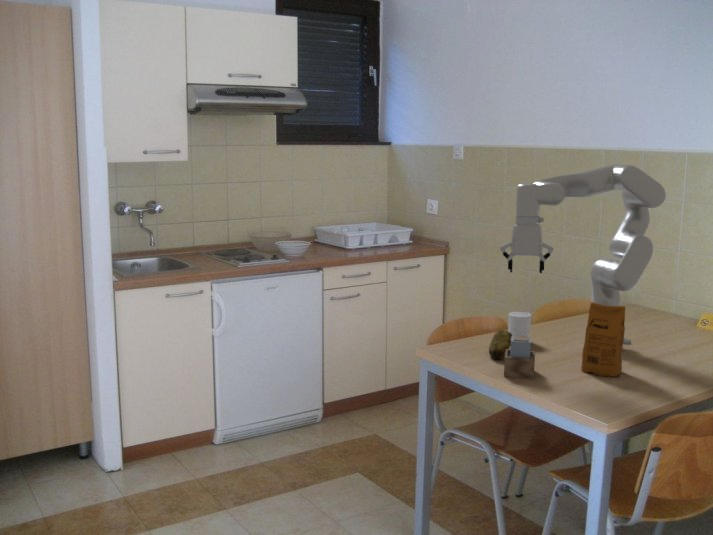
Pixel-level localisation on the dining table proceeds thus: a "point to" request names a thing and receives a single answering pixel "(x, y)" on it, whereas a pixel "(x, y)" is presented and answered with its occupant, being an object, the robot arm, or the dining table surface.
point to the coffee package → (604, 340)
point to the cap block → (520, 347)
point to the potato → (500, 344)
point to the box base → (519, 366)
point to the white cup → (519, 323)
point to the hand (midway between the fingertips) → (525, 272)
